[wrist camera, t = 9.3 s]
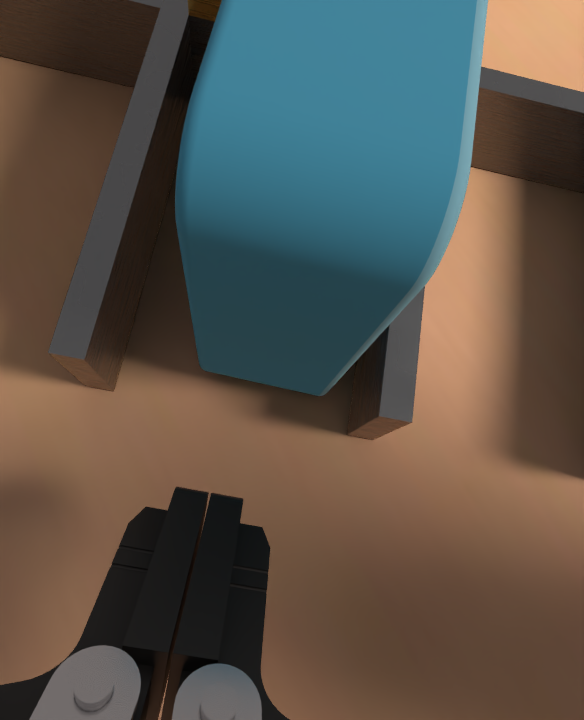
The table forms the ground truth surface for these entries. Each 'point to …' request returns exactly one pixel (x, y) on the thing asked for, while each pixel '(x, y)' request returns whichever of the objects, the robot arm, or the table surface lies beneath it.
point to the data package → (321, 177)
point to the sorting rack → (160, 157)
